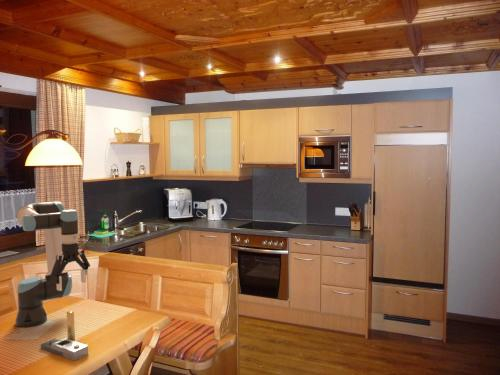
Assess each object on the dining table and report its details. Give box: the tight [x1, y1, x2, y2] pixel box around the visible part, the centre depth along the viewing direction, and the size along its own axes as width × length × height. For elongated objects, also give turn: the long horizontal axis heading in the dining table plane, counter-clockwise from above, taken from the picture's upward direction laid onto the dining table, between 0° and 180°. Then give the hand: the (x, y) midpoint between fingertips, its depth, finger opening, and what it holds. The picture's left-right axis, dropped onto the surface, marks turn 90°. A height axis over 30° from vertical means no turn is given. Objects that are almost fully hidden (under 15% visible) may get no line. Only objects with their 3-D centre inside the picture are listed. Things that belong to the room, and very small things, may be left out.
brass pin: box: [66, 310, 76, 342], centre depth 200 cm, size 3×3×14 cm
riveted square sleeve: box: [40, 337, 89, 362], centre depth 189 cm, size 24×7×5 cm, turn 60°
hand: (71, 286), depth 199 cm, fingers open, 13 cm apart
